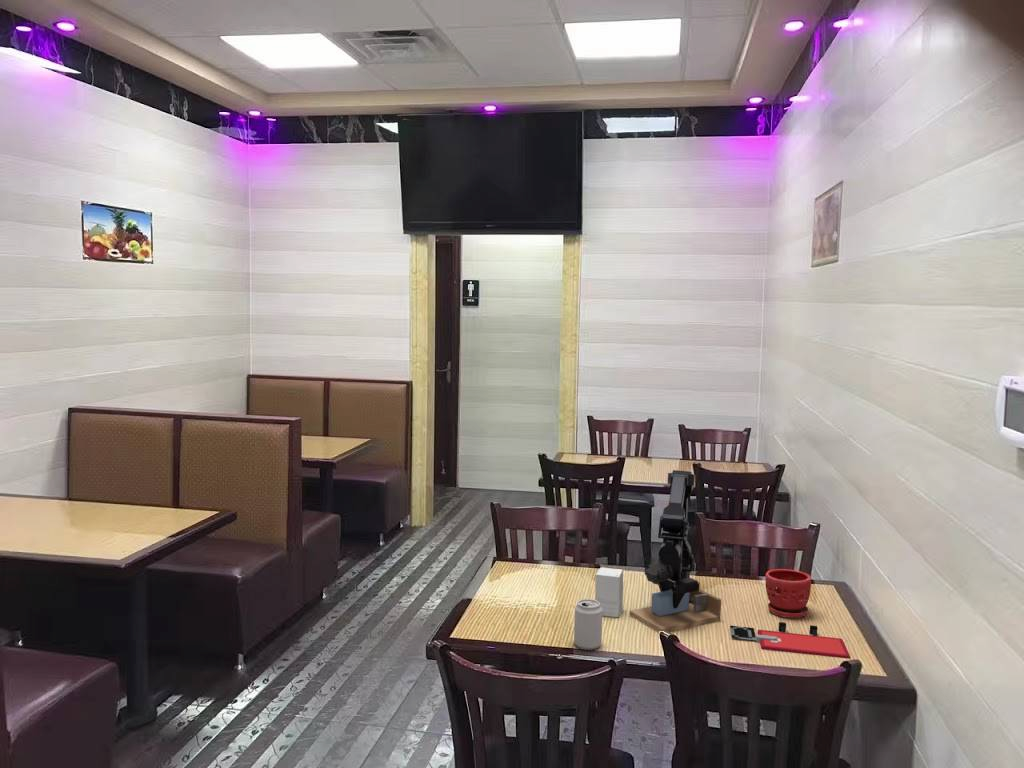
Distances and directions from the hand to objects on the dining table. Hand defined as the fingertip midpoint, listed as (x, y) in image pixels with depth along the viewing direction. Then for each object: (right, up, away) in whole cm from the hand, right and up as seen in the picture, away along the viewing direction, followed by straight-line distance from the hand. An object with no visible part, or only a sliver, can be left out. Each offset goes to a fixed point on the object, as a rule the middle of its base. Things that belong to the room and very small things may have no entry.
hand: (670, 605), depth 232 cm
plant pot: (+36, -4, +5) cm, 37 cm away
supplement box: (-18, -3, +3) cm, 19 cm away
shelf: (+1, -4, -1) cm, 4 cm away
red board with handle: (+29, -6, -16) cm, 34 cm away
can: (-27, -5, -21) cm, 34 cm away
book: (0, -2, 0) cm, 2 cm away
